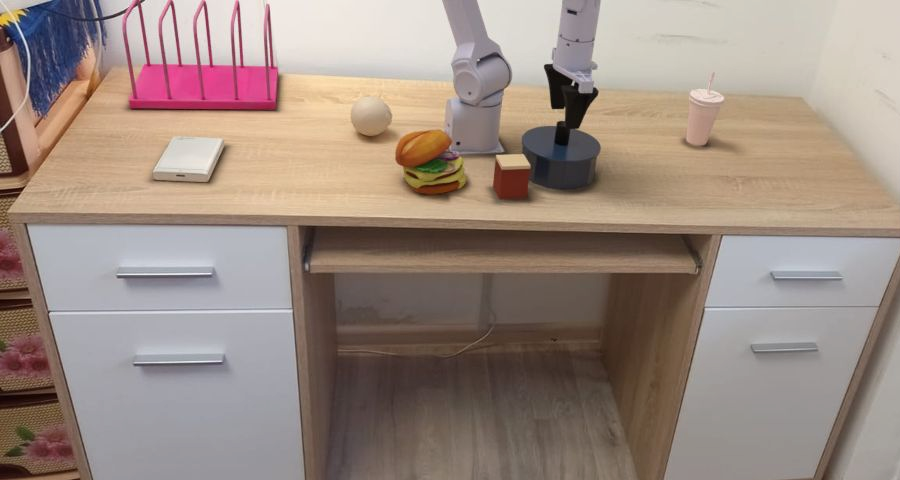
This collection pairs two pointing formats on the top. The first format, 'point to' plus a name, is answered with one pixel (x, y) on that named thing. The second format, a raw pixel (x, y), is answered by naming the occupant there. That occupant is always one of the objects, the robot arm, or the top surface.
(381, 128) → the cream ball
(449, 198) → the top surface
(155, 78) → the file sorter
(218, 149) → the hard drive
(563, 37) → the robot arm
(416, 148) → the cheeseburger
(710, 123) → the smoothie
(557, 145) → the pot lid
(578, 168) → the pot
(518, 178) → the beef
